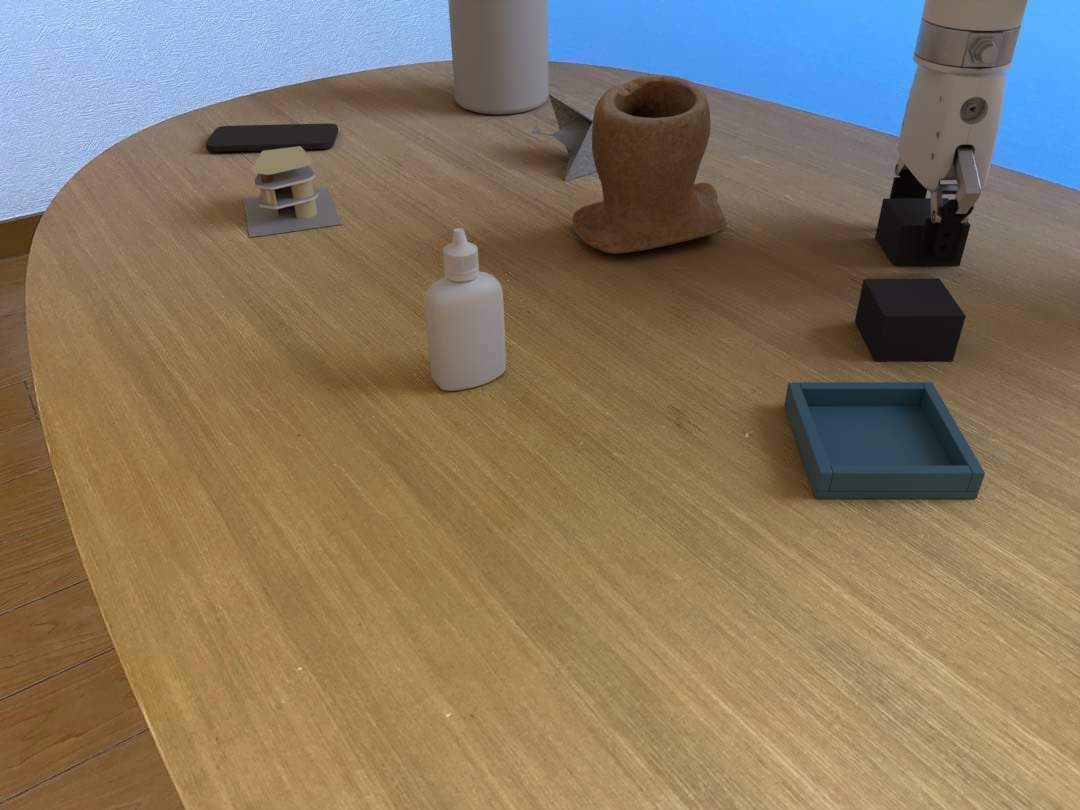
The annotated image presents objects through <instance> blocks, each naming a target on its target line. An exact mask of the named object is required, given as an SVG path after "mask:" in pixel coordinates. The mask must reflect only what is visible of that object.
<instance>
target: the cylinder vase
mask: <svg viewBox="0 0 1080 810" xmlns="http://www.w3.org/2000/svg"><path fill="white" fill-rule="evenodd" d="M447 2H448V17H449V18H448V19H449V31H450V32H449V33H450V47H451V60H452V74H453V76H452V77H453V88H454V99H455V102H456V103H457V104H458V105H459V106H460V107H461V108H463V109H465V110H467V111H470V112H473V113H477V114H482V115H483V114H484V115H513V114H520V113H525V112H529V111H533V110H535V109H537V108H540V107H541V106H543V105H544V104H545V103H546V102H547V100H548V99H549V95H548V94H549V25H548V23H549V21H548V20H549V19H548V17H549V16H548V15H549V14H548V0H448V1H447Z"/></svg>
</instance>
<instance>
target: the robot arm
mask: <svg viewBox="0 0 1080 810" xmlns="http://www.w3.org/2000/svg"><path fill="white" fill-rule="evenodd" d="M1028 1H1029V0H925V1H924V5H923V9H922V14H921V19H920V23H919V28H918V33H917V37H916V42H915V47H914V52H913V56H912V60H913V62H915V64H916V65H917V66H916V70H915V74H914V76H913V80H912V84H911V86H910V91H909V95H908V98H907V101H906V105H905V110H904V113H903V118H902V123H901V128H900V133H899V140H898V147H897V151H898V155H899V159H898V160H897V162H896V163H895V167H894V175H895V176H894V177H893V181H892V185H891V190H890V195H889V198H927V193H928V191H929V193H930V198H931V218H926V219H925V223H924V227H923V232H922V236H921V240H920V244H919V248H918V252H917V256H916V258H917V260H918V261H919V262H920V263H951V262H953V261H954V260H955V257H956V253H957V250H958V246H959V242H960V238H961V235H962V231H963V227H964V224H965V223H967V221H968V222H969V217H970V215H971V214H972V212H973V211H974V209H975V205H976V202H977V201H978V199H979V198H980V197H981V195H982V194H981V193H982V190H983V189H984V188H985V187H986V185H987V181H988V177H989V173H990V170H991V169H990V168H991V165H992V160H993V156H994V153H995V147H996V144H997V138H998V135H999V128H1000V123H1001V119H1002V118H1001V117H1002V112H1003V106H1004V98H1005V91H1006V90H1005V89H1006V80H1007V79H1006V78H1007V74H1006V72H1007V71H1008V70H1009V69H1010V68H1011V64H1012V60H1013V57H1014V53H1015V49H1016V46H1017V43H1018V39H1019V35H1020V31H1021V28H1022V23H1023V19H1024V15H1025V13H1026V8H1027V5H1028ZM941 181H956V183H941ZM943 195H954V196H955V198H951V199H949V201H948V202H947V203H946V204H945V205H944V206H943V207H942V198H943Z"/></svg>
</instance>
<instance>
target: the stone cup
mask: <svg viewBox="0 0 1080 810" xmlns="http://www.w3.org/2000/svg"><path fill="white" fill-rule="evenodd" d="M593 111H594V112H593V126H592V152H593V158H594V162H595V166H596V169H597V172H596V173H597V176H598V178H599V181H600V185H601V190H602V197H603V200H602V201H598V202H594V203H593V202H592V203H590V204H588V205H583V206H582V207H580V208H578V209H577V210H576V211H575V212H574V213H573V215H572V217H571V221H572V227H573V229H574V232H575V233H576V234H577V236H578V237H579V239H581V240H582V241H583V242H584V243H586V244H587V245H588V246H590V247H592V248H594V249H597V250H600V251H601V252H603V253H607V254H628V253H634V252H642V251H648V250H652V249H658V248H663V247H667V246H671V245H675V244H680V243H684V242H688V241H692V240H696V239H700V238H703V237H708V236H712V235H716V234H721V233H724V232H725V231H727V221H726V217H725V215H724V212H723V211H722V208H721V205H720V204H719V202H718V199H719V196H718V195H719V194H718V191H717V189H716V188H715V186H713V184H711V183H709V182H697V183H695V182H696V179H697V175H698V173H699V172H698V171H699V169H700V165H701V163H702V160H703V157H704V155H705V153H706V149H707V147H708V143H709V139H710V135H711V112H710V105H709V101H708V97H707V95H706V93H705V92H704V91H703V89H702V88H701V87H700V86H699V85H698V84H696V83H694V82H693V81H691V80H688V79H686V78H683V77H679V76H673V75H665V74H658V75H654V74H649V75H643V76H639V77H637V78H634V79H632V80H629V81H628V82H626V83H624V84H620V85H614V86H612V87H610V88H609V89H607V90H606V91H605V92H604V93H603V94H602V95H601V97H600V98H599V99H598V101H597V103H596V105H595V107H594V110H593Z"/></svg>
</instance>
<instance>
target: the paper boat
mask: <svg viewBox="0 0 1080 810" xmlns="http://www.w3.org/2000/svg"><path fill="white" fill-rule="evenodd" d="M548 99H549V101H550V104H551V106H552V110H553V113H554V116H555V119H556V122H557V125H558V127H559V129H558V130H557V131H555V132H554V133H552V134H551V133H544V132H541V130H540V128H539V126H538V123H536V124H535V126H534V127H533V129H532V131H531V133H532V134H536V135H544V136H551V137H553V138H555V139H556V140H558V141H559V143H561V144H562V145H564V146H565V149H566V152H567V155H568V161H567V165H566V166H567V167H566V170H565V176H564V181H563V182H567V181H570V180H573V179H578V178H580V177H584V176H587V175H590V174H593V173H597V169H596V166H595V162H594V158H593V152H592V126H593V117H594V115H591V114H590V113H588V112H585V111H584V110H582V109H580V108H578V107H576V106H574V105H572V104H569V103H568V102H566V101H563V100H562V99H560V98H558V97H556V96H554V95H552V94H550V93H548Z"/></svg>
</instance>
